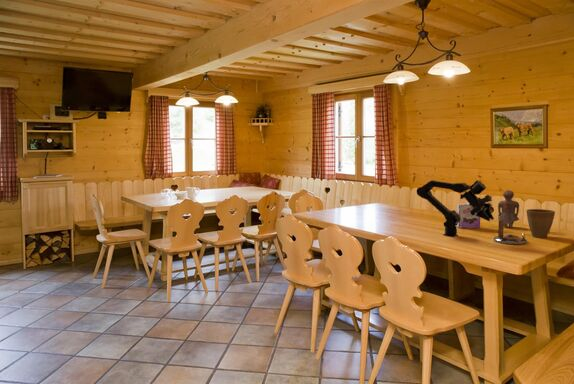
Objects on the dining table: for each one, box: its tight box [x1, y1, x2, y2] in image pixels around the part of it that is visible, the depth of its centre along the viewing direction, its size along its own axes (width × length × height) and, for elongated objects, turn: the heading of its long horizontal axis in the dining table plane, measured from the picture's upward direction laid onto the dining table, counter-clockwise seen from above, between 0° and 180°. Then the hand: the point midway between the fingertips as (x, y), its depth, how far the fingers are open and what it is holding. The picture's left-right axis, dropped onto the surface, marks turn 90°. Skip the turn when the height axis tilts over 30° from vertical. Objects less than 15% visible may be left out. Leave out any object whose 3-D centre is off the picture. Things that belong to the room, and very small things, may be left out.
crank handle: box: [497, 219, 521, 242], centre depth 243 cm, size 12×13×11 cm
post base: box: [493, 233, 528, 246], centre depth 246 cm, size 17×17×5 cm
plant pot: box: [525, 208, 556, 239], centre depth 256 cm, size 15×15×16 cm
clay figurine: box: [497, 189, 520, 228], centre depth 285 cm, size 13×10×25 cm
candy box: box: [456, 202, 481, 229], centre depth 287 cm, size 14×6×16 cm, turn 81°
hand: (491, 220), depth 246 cm, fingers open, 5 cm apart
